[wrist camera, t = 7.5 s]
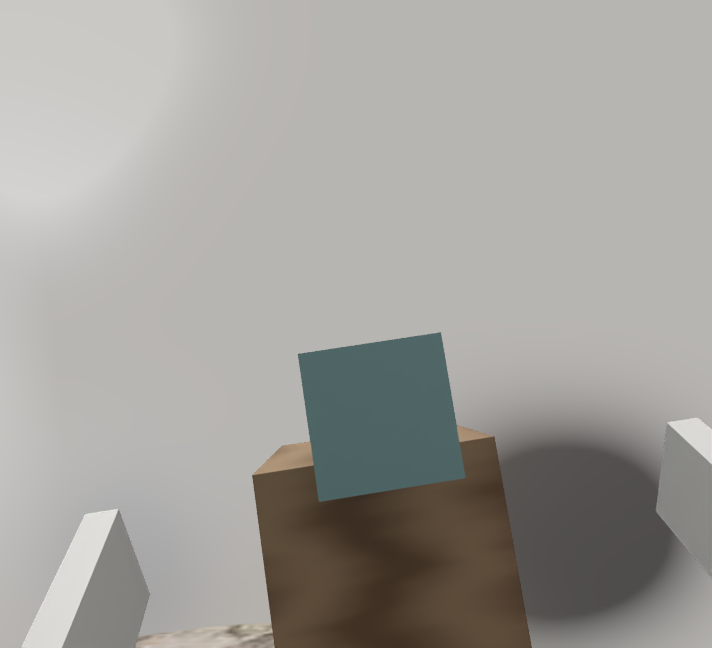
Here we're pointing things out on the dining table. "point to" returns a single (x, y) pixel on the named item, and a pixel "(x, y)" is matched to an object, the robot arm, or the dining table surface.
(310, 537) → the stand
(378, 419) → the teal square bar
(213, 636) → the dining table surface
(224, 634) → the dining table surface
